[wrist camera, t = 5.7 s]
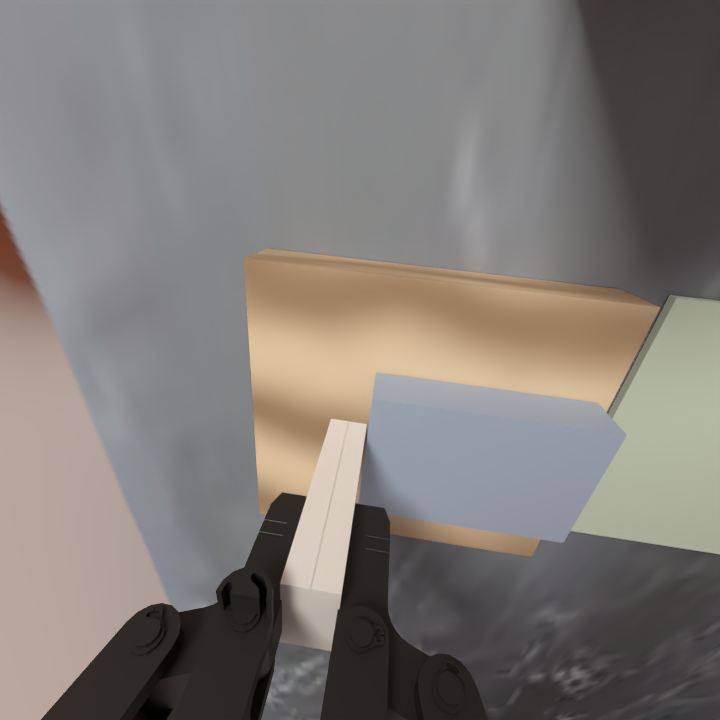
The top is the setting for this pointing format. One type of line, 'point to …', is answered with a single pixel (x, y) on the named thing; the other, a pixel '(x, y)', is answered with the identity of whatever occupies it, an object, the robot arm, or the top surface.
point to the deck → (416, 353)
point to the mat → (667, 437)
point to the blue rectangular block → (484, 456)
